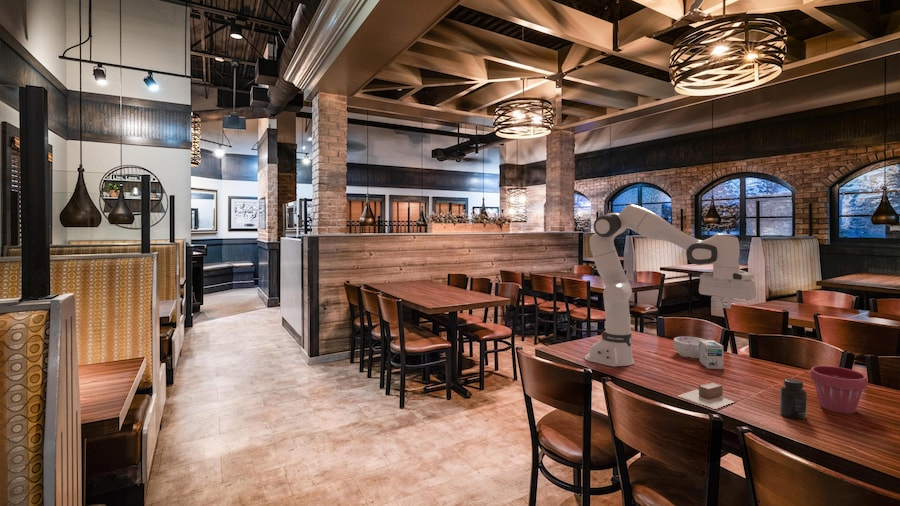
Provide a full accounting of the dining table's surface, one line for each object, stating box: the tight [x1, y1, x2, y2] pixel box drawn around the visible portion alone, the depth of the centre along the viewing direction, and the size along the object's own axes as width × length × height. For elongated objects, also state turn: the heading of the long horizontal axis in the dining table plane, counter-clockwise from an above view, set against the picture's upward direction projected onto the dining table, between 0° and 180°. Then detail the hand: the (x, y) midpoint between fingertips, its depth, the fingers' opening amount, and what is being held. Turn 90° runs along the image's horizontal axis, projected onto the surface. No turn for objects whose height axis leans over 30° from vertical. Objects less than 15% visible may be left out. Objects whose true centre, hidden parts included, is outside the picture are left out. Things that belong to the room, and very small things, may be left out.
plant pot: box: [810, 365, 868, 415], centre depth 144 cm, size 14×14×13 cm
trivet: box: [676, 389, 735, 410], centre depth 154 cm, size 12×14×1 cm
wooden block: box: [698, 382, 724, 399], centre depth 157 cm, size 4×4×8 cm
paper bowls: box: [673, 336, 705, 359], centre depth 208 cm, size 15×15×8 cm
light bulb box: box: [698, 339, 724, 370], centre depth 193 cm, size 11×7×11 cm, turn 168°
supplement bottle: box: [779, 378, 808, 421], centre depth 139 cm, size 7×7×12 cm
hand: (725, 308), depth 168 cm, fingers closed
